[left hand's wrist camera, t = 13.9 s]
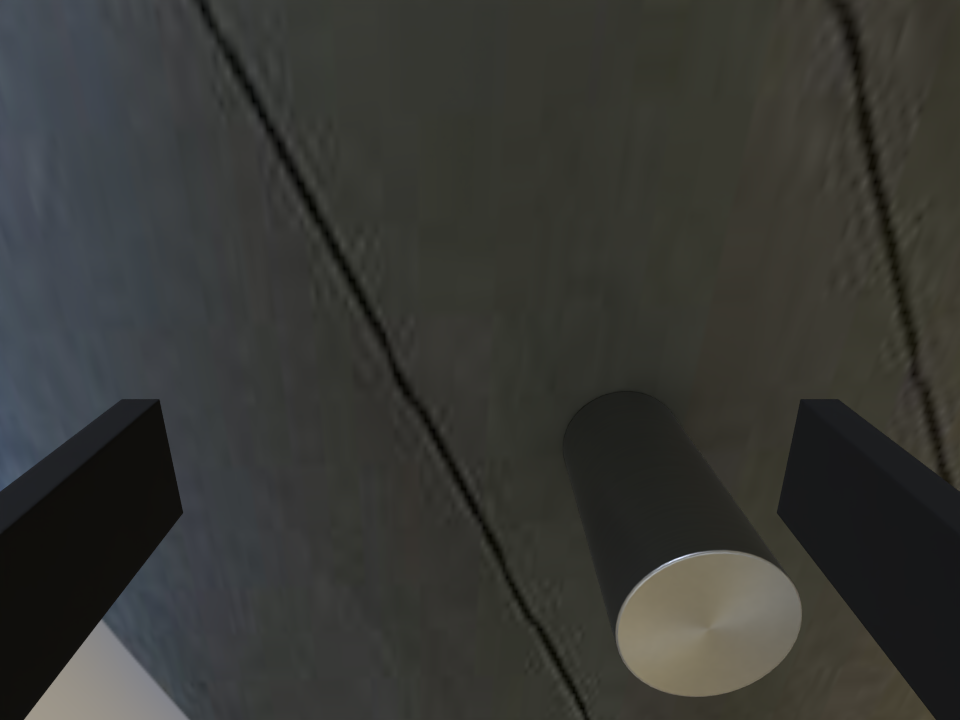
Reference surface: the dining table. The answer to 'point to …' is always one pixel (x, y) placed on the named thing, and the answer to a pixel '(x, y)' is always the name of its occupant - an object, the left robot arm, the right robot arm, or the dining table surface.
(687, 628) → the tin
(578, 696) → the dining table surface
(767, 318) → the dining table surface
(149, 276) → the dining table surface
